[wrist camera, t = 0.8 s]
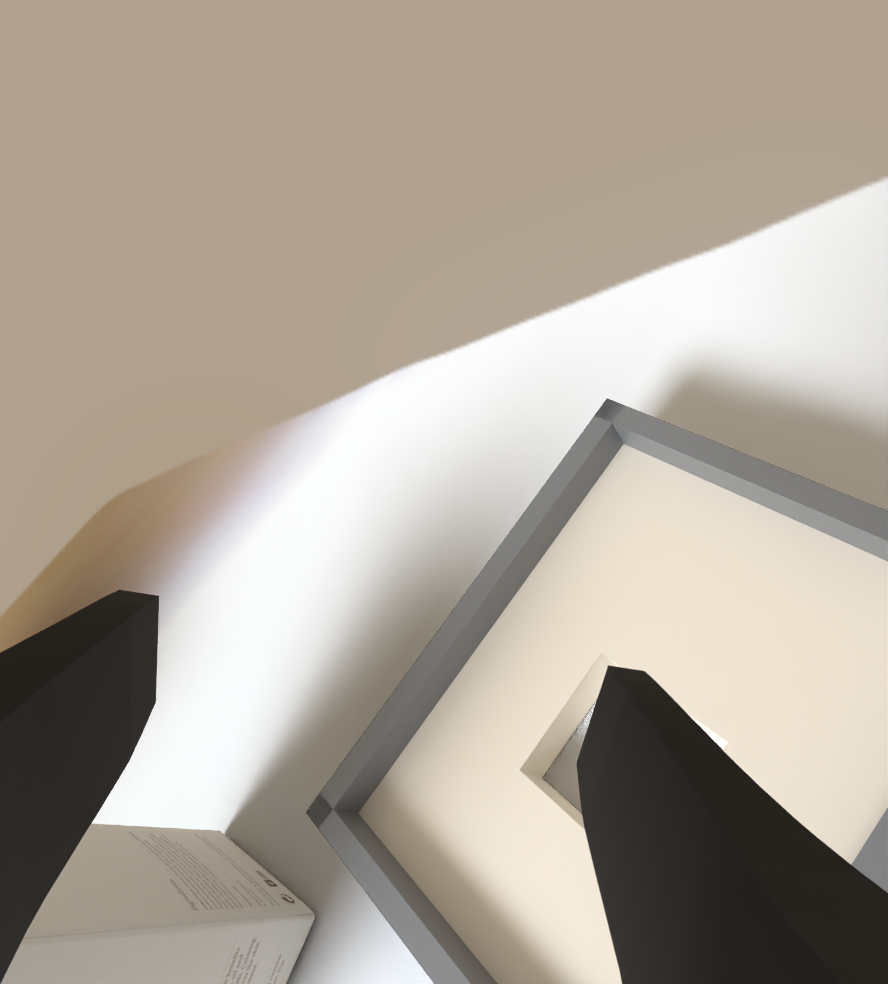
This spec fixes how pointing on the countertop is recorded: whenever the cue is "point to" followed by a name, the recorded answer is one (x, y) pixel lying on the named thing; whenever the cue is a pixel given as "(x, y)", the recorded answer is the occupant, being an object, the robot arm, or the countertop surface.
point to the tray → (579, 676)
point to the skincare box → (162, 914)
